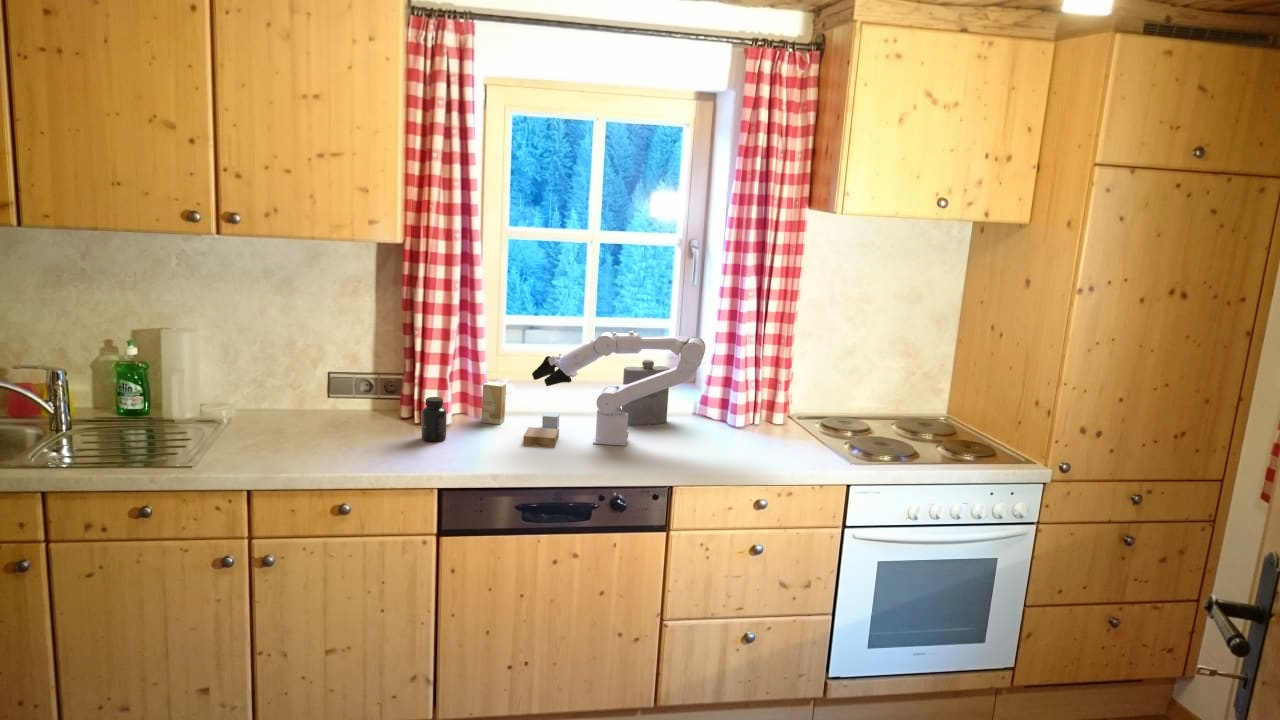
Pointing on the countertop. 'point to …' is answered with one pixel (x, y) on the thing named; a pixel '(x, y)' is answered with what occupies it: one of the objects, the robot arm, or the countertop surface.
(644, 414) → the flask
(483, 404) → the skincare box
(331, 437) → the countertop surface
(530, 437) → the walnut block
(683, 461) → the countertop surface
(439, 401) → the supplement bottle
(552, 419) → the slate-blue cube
